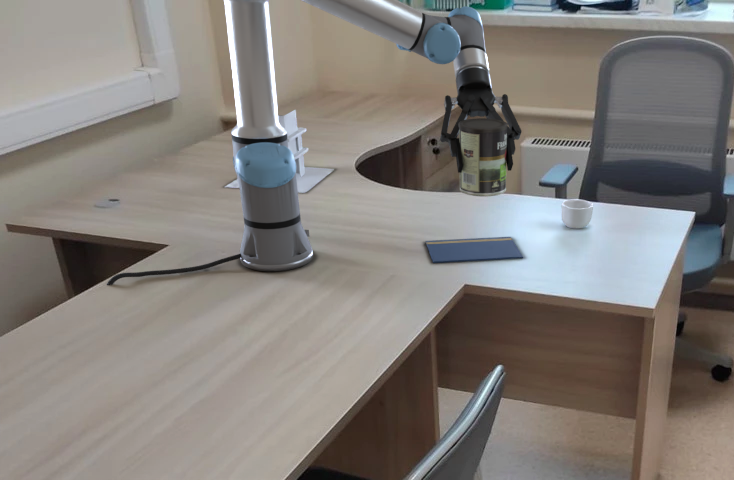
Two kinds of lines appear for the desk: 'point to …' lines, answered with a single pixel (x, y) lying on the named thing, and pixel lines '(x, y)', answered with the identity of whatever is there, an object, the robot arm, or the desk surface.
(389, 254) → the desk surface
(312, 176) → the architectural model
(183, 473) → the desk surface
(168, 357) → the desk surface
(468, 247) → the blue flat rectangular block
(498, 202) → the desk surface
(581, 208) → the teacup
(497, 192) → the coffee can
